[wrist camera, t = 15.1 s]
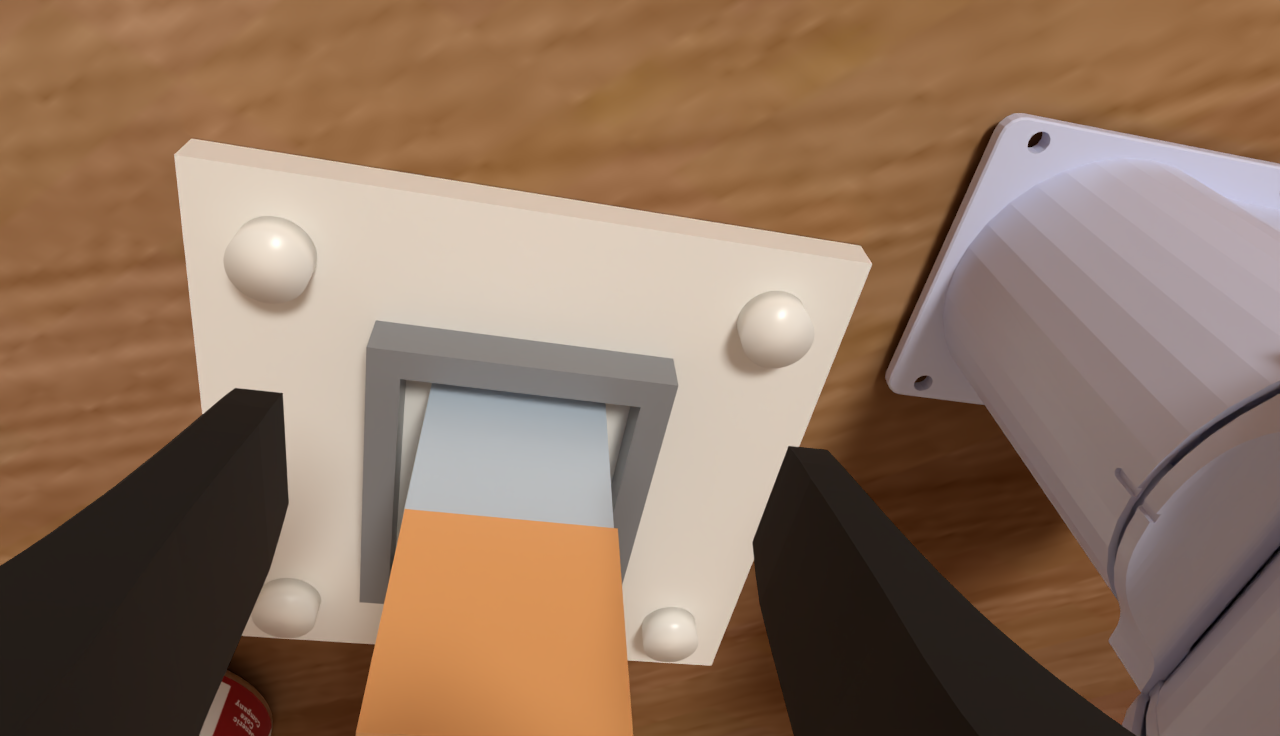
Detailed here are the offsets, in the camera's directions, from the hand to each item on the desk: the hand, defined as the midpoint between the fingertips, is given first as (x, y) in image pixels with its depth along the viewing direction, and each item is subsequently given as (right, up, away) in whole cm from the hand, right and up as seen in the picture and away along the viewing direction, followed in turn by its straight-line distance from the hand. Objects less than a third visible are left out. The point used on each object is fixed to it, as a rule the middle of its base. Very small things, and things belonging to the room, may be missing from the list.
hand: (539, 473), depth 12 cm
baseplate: (-2, -1, +12) cm, 13 cm away
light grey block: (-2, -1, +11) cm, 12 cm away
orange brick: (-2, -4, +7) cm, 9 cm away
